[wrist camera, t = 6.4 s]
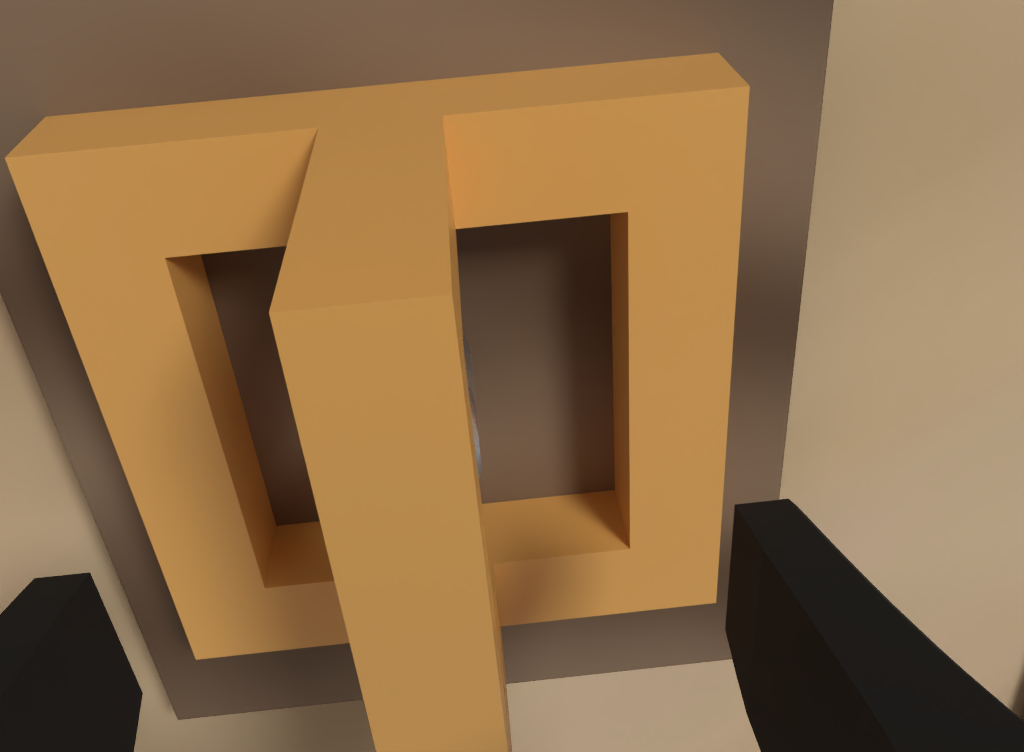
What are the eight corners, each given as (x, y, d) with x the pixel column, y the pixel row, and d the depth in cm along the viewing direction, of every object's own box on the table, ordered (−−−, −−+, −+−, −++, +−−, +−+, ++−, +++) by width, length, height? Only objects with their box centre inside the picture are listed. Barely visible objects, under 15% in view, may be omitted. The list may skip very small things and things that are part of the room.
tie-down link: (695, 542, 18) (801, 852, 13) (211, 594, 18) (129, 929, 13) (718, 52, 13) (903, 249, 8) (45, 116, 13) (-197, 358, 8)
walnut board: (748, 618, 21) (762, 655, 20) (188, 679, 20) (177, 719, 20) (854, -496, 11) (890, -516, 10) (-240, -410, 10) (-297, -422, 10)
